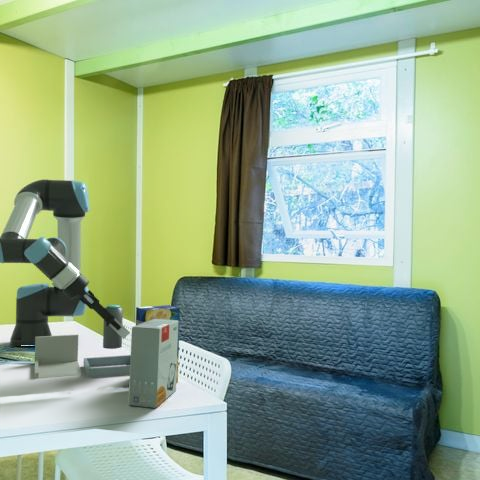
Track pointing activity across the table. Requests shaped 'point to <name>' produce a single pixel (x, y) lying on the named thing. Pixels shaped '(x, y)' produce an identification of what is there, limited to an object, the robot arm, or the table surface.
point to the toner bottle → (109, 334)
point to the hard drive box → (153, 362)
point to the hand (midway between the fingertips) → (124, 333)
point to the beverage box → (159, 313)
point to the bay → (56, 356)
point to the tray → (107, 370)
